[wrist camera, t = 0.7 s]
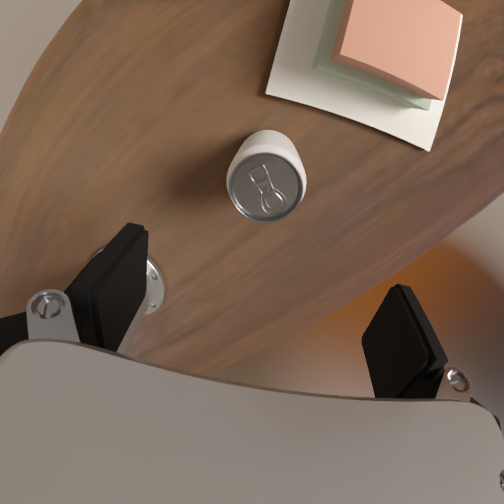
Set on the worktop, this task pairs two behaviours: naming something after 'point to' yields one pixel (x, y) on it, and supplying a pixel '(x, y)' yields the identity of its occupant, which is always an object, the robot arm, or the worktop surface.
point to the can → (266, 177)
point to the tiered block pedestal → (370, 62)
